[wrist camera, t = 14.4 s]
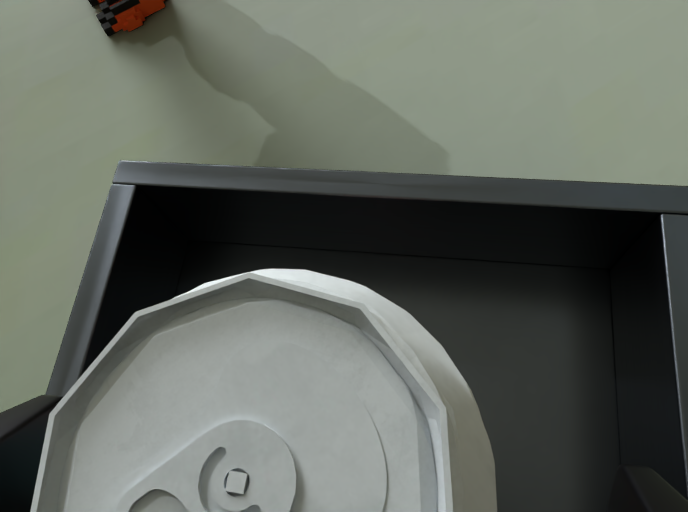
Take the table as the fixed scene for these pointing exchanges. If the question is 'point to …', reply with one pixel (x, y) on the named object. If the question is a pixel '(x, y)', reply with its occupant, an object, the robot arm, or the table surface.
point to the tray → (444, 296)
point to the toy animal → (125, 13)
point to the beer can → (269, 409)
